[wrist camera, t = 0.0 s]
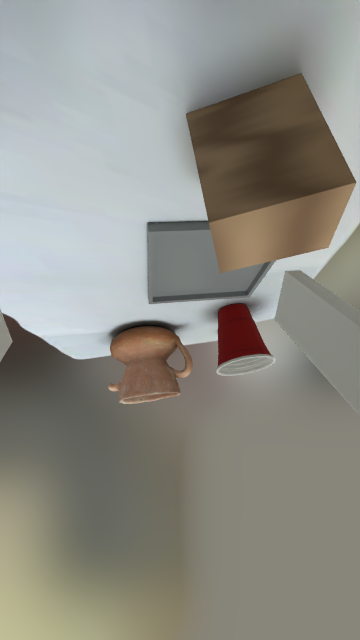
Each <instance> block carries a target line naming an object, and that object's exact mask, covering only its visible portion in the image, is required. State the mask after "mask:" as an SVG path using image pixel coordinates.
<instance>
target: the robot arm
mask: <svg viewBox="0 0 360 640" xmlns="http://www.w3.org/2000/svg"><path fill="white" fill-rule="evenodd" d="M275 321H276V322H277V323H278V324H279V325H280V326H281V327H282V329H283V330H284V331H285V332H286V333H287V334H288V335H289V336H290V338H291V339H292V340H293V341H294V342H295V343H296V344H297V346H298V347H299V348H300V349H301V350H302V351H303V352H304V353H305V355H306V356H307V357H308V358H309V359H310V360H311V361H312V363H313V364H314V365H315V366H316V367H317V368H318V369H319V370H320V372H321V373H322V374H323V375H324V376H325V377H326V378H327V379H328V381H329V382H330V383H331V384H332V385H333V386H334V387H335V389H336V390H337V391H338V392H339V393H340V394H341V395H342V397H343V398H344V399H345V400H346V401H347V402H348V403H349V404H350V406H351V407H352V408H353V409H354V410H355V411H356V412H357V413H358V415H359V416H360V311H359V310H357V309H356V308H354V307H353V306H351V305H350V304H348V303H347V302H346V301H344V300H342V299H341V298H340V297H338V296H337V295H335V294H334V293H332V292H331V291H329V290H328V289H327V288H325V287H324V286H322V285H321V284H319V283H318V282H316V281H315V280H313V279H312V278H310V277H309V276H308V275H306V274H305V273H303V272H302V271H300V270H296V271H285V275H284V279H283V284H282V288H281V293H280V298H279V302H278V307H277V311H276V316H275ZM11 343H12V339H11V336H10V334H9V331H8V328H7V326H6V323H5V320H4V318H3V315H2V312H1V310H0V361H1V360H2V358H3V356H4V355H5V353H6V351H7V350H8V348H9V346H10V345H11Z"/></svg>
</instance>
